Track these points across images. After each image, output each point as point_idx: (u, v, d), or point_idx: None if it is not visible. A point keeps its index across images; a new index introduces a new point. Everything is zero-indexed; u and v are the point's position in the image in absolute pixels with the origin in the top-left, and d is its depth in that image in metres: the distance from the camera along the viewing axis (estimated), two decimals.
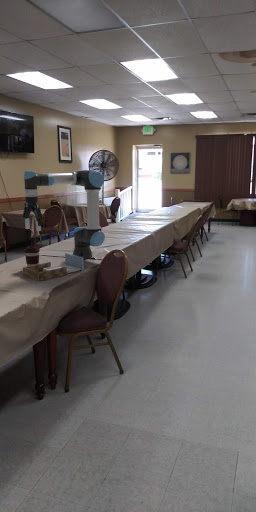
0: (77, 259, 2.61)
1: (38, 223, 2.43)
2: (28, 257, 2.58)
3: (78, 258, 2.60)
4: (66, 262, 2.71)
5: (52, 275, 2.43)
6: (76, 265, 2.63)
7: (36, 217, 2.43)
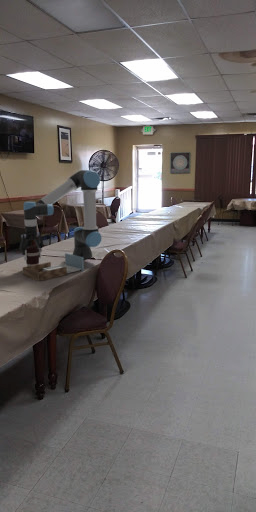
0: (77, 259, 2.61)
1: None
2: (28, 257, 2.58)
3: (78, 258, 2.60)
4: (66, 262, 2.71)
5: (52, 275, 2.43)
6: (76, 265, 2.63)
7: None
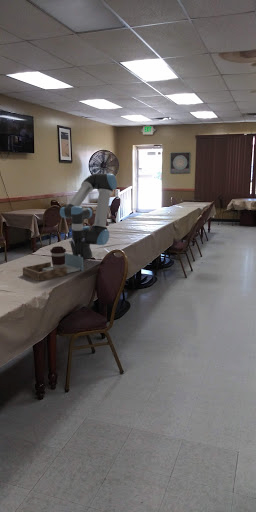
0: (77, 259, 2.61)
1: None
2: (54, 257, 2.51)
3: (78, 258, 2.60)
4: (66, 262, 2.70)
5: (52, 275, 2.43)
6: (76, 265, 2.63)
7: None
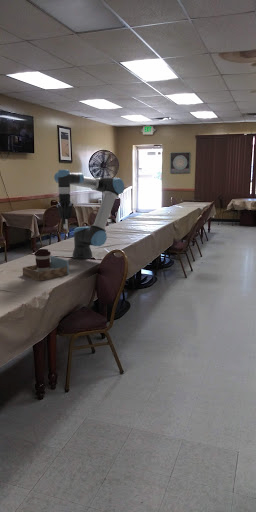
0: (62, 262, 2.53)
1: None
2: (38, 260, 2.43)
3: (63, 261, 2.52)
4: (51, 265, 2.62)
5: (52, 275, 2.43)
6: None
7: None
